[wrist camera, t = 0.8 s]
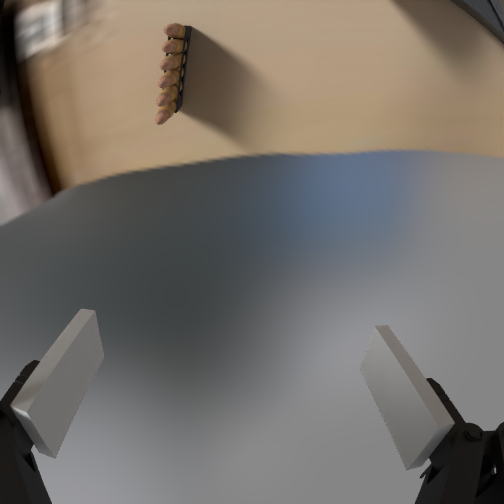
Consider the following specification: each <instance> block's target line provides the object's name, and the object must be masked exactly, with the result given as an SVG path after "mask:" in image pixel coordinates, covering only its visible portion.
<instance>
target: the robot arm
mask: <svg viewBox="0 0 504 504" xmlns="http://www.w3.org/2000/svg"><path fill="white" fill-rule="evenodd" d="M103 358H104V353H103V348H102V344H101V339H100V334H99V329H98V324H97V319H96V314H95V311H94V310H87V309H81V310H80V311H79V312H78V313H77V315H76V316H75V317H74V319H73V320H72V321H71V322H70V323H69V325H68V326H67V327H66V328H65V330H64V331H63V332H62V334H61V335H60V336H59V337H58V339H57V340H56V341H55V343H54V344H53V345H52V347H51V348H50V349H49V351H48V352H47V353H46V355H45V356H44V357H43V359H42V360H41V361H37V360H34V361H32V362H31V363H29V364H28V365H26V366H25V368H24V369H23V370H22V372H21V373H20V376H18V377H17V378H16V380H15V382H13V384H12V385H11V387H10V388H9V389H8V391H7V392H6V394H5V395H4V397H3V398H2V400H1V401H0V504H52V502H51V500H50V498H49V495H48V493H47V491H46V488H45V486H44V483H43V481H42V478H41V475H40V472H39V470H38V467H37V464H36V461H35V458H34V455H33V453H32V451H31V448H32V446H33V444H34V445H35V447H36V448H37V450H38V451H39V452H40V453H42V454H45V455H47V456H50V457H53V458H56V456H57V454H58V451H59V449H60V447H61V444H62V442H63V440H64V438H65V436H66V433H67V431H68V429H69V427H70V424H71V422H72V420H73V418H74V416H75V414H76V412H77V409H78V408H79V405H80V403H81V402H82V399H83V397H84V395H85V393H86V391H87V389H88V387H89V385H90V383H91V381H92V380H93V378H94V376H95V374H96V372H97V370H98V368H99V366H100V364H101V362H102V360H103ZM360 371H361V373H362V375H363V377H364V379H365V381H366V383H367V385H368V387H369V389H370V391H371V393H372V396H373V398H374V400H375V402H376V404H377V406H378V408H379V410H380V413H381V415H382V417H383V419H384V421H385V423H386V426H387V428H388V430H389V432H390V434H391V436H392V439H393V441H394V443H395V445H396V448H397V450H398V452H399V454H400V457H401V459H402V461H403V464H404V466H405V468H406V470H410V469H413V468H416V467H420V466H422V465H423V464H424V463H425V461H426V460H427V459H428V458H429V459H430V461H431V464H430V466H429V467H428V468H427V469H426V470H425V471H424V472H423V473H422V475H421V476H420V478H423V477H424V475H425V474H426V476H425V479H424V481H423V484H422V487H421V489H420V492H419V494H418V497H417V500H416V502H415V504H504V422H503V423H501V424H500V425H499V426H498V428H497V429H496V430H495V431H483V430H482V429H481V428H480V427H479V426H477V425H475V424H473V423H466V422H465V421H464V420H463V418H462V417H461V415H460V414H459V412H458V411H457V409H456V408H455V406H454V405H453V403H452V402H451V401H450V400H449V398H448V396H447V394H445V392H444V390H443V389H442V388H441V386H440V384H438V383H437V382H436V381H434V380H433V379H432V378H427V379H426V378H425V377H424V375H423V374H422V373H421V371H420V370H419V368H418V367H417V365H416V364H415V362H414V361H413V360H412V358H411V357H410V355H409V354H408V353H407V351H406V350H405V348H404V347H403V346H402V344H401V343H400V341H399V340H398V339H397V337H396V336H395V334H394V333H393V332H392V330H391V329H390V328H389V326H388V325H386V326H375V327H374V329H373V332H372V335H371V339H370V342H369V345H368V348H367V350H366V353H365V356H364V359H363V362H362V365H361V368H360ZM495 467H496V474H495V472H494V468H495Z"/></svg>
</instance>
